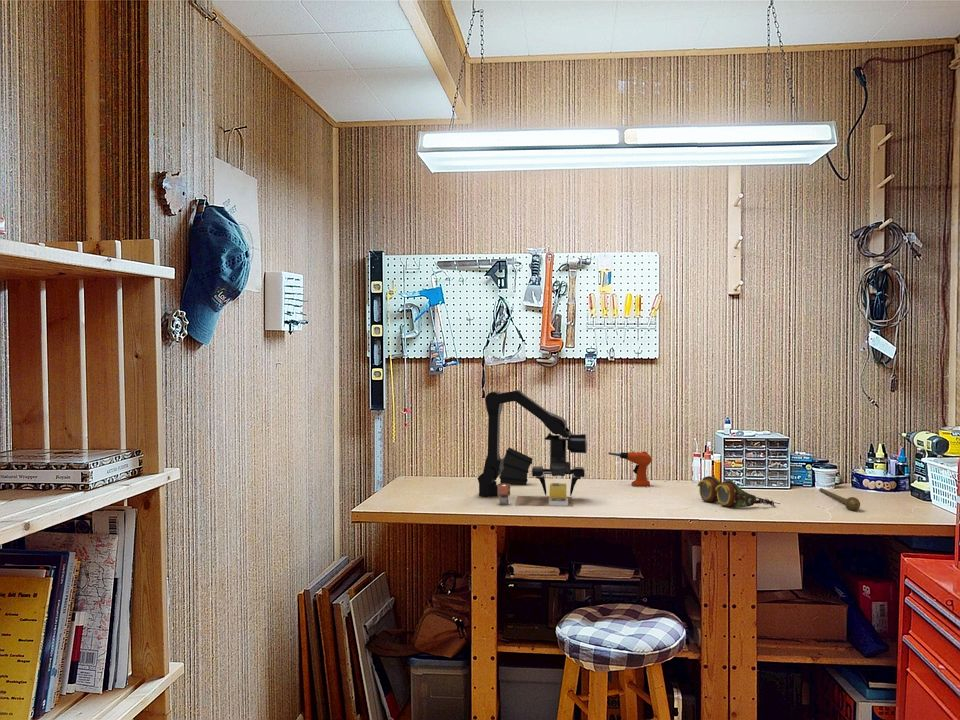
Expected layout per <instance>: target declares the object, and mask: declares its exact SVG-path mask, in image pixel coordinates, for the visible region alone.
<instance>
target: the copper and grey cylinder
mask: <svg viewBox="0 0 960 720" xmlns="http://www.w3.org/2000/svg"><path fill="white" fill-rule="evenodd" d="M497 485H498V496H499V505H501V506H507V505H509V496H510V495H511V485H510V484H506V483H502V484H500V483H497Z"/></svg>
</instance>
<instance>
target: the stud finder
mask: <svg viewBox="0 0 960 720" xmlns="http://www.w3.org/2000/svg"><path fill="white" fill-rule="evenodd" d="M549 496H550V497H555V498H566V497H567V482H549Z"/></svg>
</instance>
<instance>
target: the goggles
mask: <svg viewBox="0 0 960 720" xmlns="http://www.w3.org/2000/svg"><path fill="white" fill-rule="evenodd" d="M701 479H702V480H700V481H699V482H698V483H697V485H696V486H697V487H698V488H699V490H698V491H699V496H700V498H701V499H702V500H704V501H705V502H707V503H717V502H718V503H719V504H720V505H722V506H723V507H725V506H726V508H731V507H733V508H732V509H737V508H747V507H751V506H754V505H755V504H758V505H759V504H760V505H762V504H763V505H770V506H772V505H773V507H774V506H775V502H774V500H773V499H771V500H770V499H769V498H762V497H759V496H756V495H754V494H752V493H751V494H750V493H748V492H747V491H745V490H743V489H742V487H739V485H738V484H737V483H736V482H734V481H732V480H724V481H723V482H721V481H719V480H718V479H717V478H716V477H715V476H711V475H710V476H709V475H708V476H705V477H703V478H701ZM757 499H759V500H757Z"/></svg>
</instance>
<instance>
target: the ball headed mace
mask: <svg viewBox="0 0 960 720" xmlns="http://www.w3.org/2000/svg"><path fill="white" fill-rule="evenodd" d="M818 491H819V492H820V493H822V494H824V495H826V496H829V497H831V498H833V499H835V500H838V501H840V502H842V503H844V505H845V508H846V509H847V510H849V511H852V512H853V511H858V510H860V508H861V502H860V500H859V499H858V498H857V497H855V496H850V497H848V498H846V497H842V496H840V495H838V494H837V493H834V492H831V491H829V490H827V489H825V488H822V487H820V488H819V489H818Z"/></svg>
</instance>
